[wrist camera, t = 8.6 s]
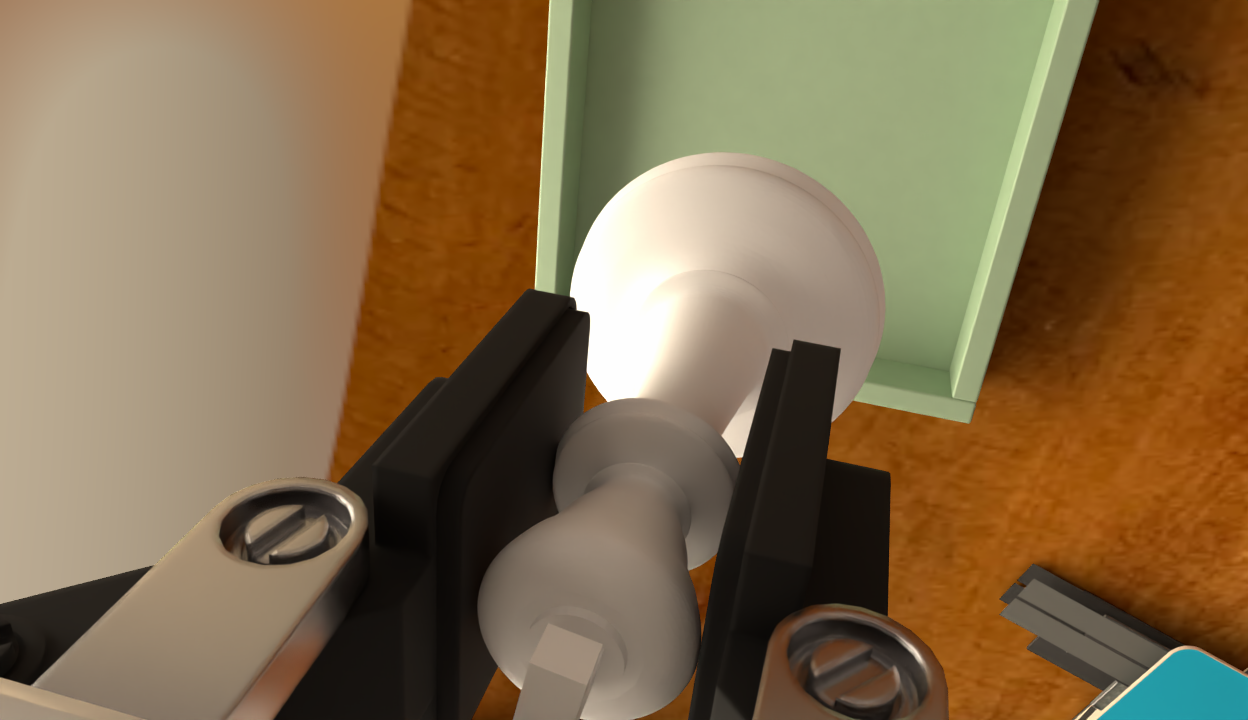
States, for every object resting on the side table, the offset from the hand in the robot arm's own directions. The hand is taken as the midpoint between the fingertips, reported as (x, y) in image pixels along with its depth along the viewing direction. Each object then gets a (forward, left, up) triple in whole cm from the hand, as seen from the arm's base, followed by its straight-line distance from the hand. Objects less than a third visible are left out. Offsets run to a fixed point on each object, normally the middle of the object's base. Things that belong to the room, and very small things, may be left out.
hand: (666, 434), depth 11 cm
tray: (0, 0, -14) cm, 14 cm away
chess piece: (0, 0, -5) cm, 5 cm away
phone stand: (+14, +18, -14) cm, 27 cm away
